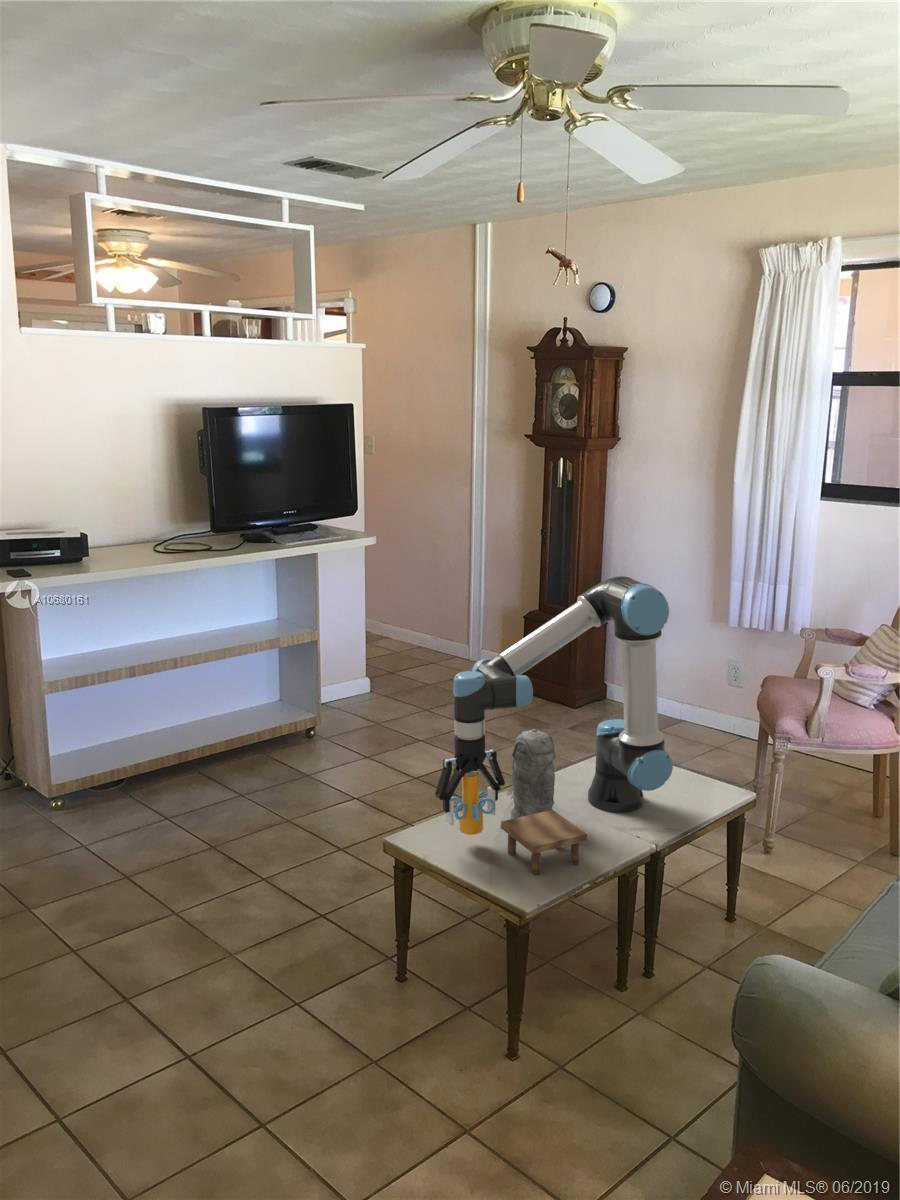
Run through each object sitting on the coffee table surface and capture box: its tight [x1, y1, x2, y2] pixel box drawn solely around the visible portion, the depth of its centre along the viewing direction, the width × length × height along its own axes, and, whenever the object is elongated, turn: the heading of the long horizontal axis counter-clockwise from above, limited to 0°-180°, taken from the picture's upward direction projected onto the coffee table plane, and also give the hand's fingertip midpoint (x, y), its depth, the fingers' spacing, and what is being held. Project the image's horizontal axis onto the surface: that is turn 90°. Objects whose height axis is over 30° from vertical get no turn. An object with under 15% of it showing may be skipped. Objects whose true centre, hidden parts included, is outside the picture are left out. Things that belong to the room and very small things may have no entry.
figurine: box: [509, 728, 557, 819], centre depth 252 cm, size 10×14×25 cm
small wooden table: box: [500, 809, 588, 876], centre depth 233 cm, size 15×15×8 cm
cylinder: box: [451, 771, 496, 836], centre depth 238 cm, size 12×10×15 cm
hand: (470, 818), depth 239 cm, fingers closed on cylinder, 11 cm apart
